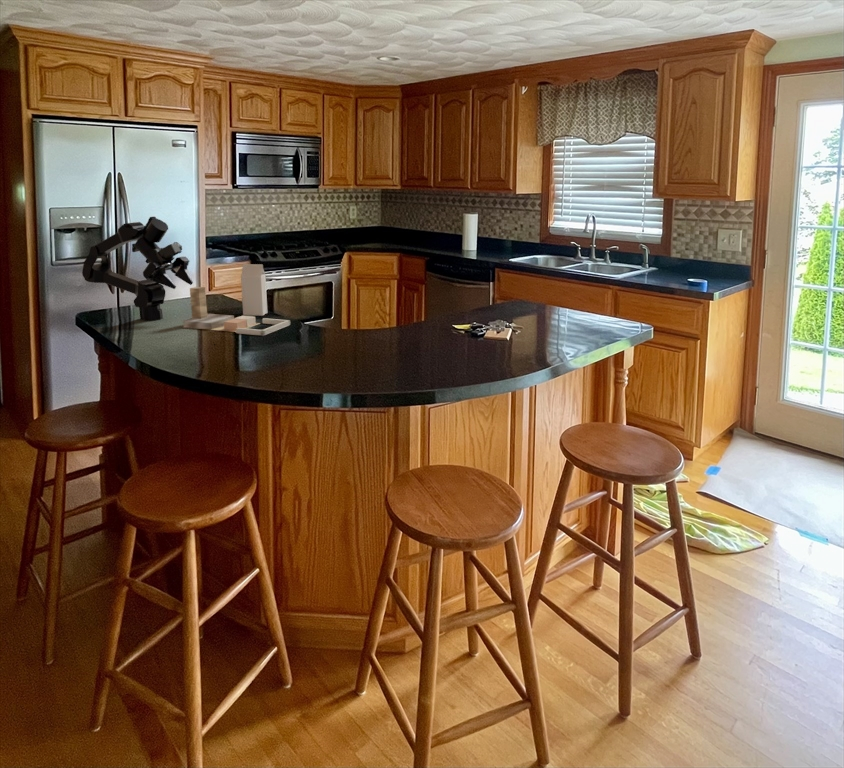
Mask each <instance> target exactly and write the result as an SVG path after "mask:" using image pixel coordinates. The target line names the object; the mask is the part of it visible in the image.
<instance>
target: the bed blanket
mask: <svg viewBox="0 0 844 768" xmlns="http://www.w3.org/2000/svg"><path fill="white" fill-rule="evenodd" d="M189 295H190V305H191V307H190V309H191V317H190V318H187V319H184V320H182V323H183V328H187V327H193V328H192V329H198V328H204V329H203V330H209V329H214V328H217V327H220V326H223V325H224V322H225V321H228V320H231V319H234V318H235V315H231V314H230V315H229V314H219V313H218V314H217V313H216V314H215V313H208V309H207V297H206V296H207V292H206V287H205V286H193V287H190V288H189Z"/></svg>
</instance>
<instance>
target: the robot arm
mask: <svg viewBox="0 0 844 768" xmlns="http://www.w3.org/2000/svg"><path fill="white" fill-rule="evenodd" d="M168 231H169V225H168V224H167V222H164V221H163V220H161V219H159V218H156V216H149V218H148V220H147V223H146V224H145V225H144V224H143V223H142V222H140V221H138V222H137V221H135V222H125V223H123V224H121V225H120V226H119V228H117V232H115V233H114V234H113V235H111V236H109V237H107V238H105V239H104V240H102V241H100V242H98V243H97V244H94V245H92V246H91V247H90V248H89V252H88V253H89V254H88V255H87V256H86V259H85V260H84V261H83V266H82V271H81V274H82V276H83V279H84V281H86V282H88V283H94V284H95V283H96V284H107V285H109V286H112V287H114V288H118V289H120V290H123V291H126V292H127V293H131V294H134V295H135V296H136V297H135V298H134V300H133V304H134V307H135V308H138V310H139V311H138V312H139V319H140V321H144V322H145V321H149V322H152V321H160V320H162V319H164V318H163V317H164V316H163V315H164V314H163V309H162V308H161V305H163V304H164V302H165V297H166V290H165V288H164V286H165V287H168V288H171V289H173V290H175V289H176V288H177V285H176V284H175V282H174V281H173V280H172V279H171V277H170V276H169V275H168V274H167V271H171V273H173V274H174V276H175V277H177V278H179V280H182V281H183V282H185V283H186V284H188V285H190V286H191V285H193V283H194V282H193V280H192V277H191V275H190V273H189V270H188V266H189V263H190V259H189V257H188V258H187V257H186V256H179V257H176V258H175V256H176V255H178V254H181V253H183V246H182V245H181V244H180V243H179V242H177V241H174V242H173V243H171V244H167V245H166V246H164V247H160V246H159V245H158V244H157V243H160V242H161V241H162V239H163V238H164V236H165V235H166V233H167V232H168ZM131 242H135V243H132V244H131V246H132V247H131V252H132V253H136V252H139V253H140V254H142V256H143V258H145V259H146V260H145V262H146V264H147V266H146V267H145V268H144V270H143V271H142V275H143V277H144V278H145V279H144V280H136V279H133V278H131V277H127V276H125V275H122V274H120V273H117V272H114V271H113V270H112V268H111V267H110V266H111V263H110V260H109V253H112V251H115V250H117V249H119V248H120V247H122V246H124V245H125V244H128V243H131ZM98 257H99V258H100V261H101V262H100V263H96V261H97V260H98Z"/></svg>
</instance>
